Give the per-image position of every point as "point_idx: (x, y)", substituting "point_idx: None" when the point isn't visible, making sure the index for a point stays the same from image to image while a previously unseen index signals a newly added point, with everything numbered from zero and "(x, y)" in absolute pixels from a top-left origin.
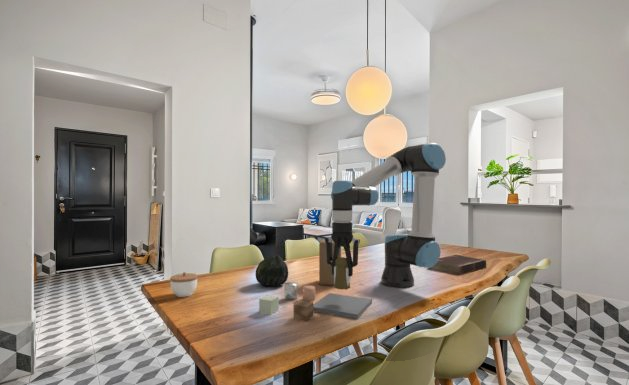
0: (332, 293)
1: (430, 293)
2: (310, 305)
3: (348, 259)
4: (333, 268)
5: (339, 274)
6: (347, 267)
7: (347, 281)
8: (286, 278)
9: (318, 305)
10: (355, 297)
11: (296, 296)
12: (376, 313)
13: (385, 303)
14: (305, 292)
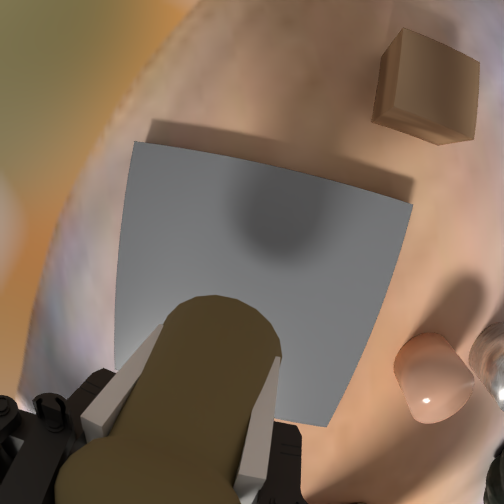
0: (310, 424)
1: None
2: (396, 71)
3: (19, 485)
4: (279, 472)
5: (199, 379)
6: (68, 407)
7: (147, 340)
8: (491, 477)
9: (370, 232)
10: None
11: (479, 351)
12: (83, 237)
13: (81, 357)
14: (455, 356)
